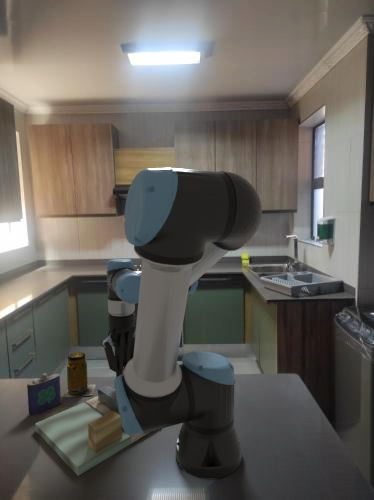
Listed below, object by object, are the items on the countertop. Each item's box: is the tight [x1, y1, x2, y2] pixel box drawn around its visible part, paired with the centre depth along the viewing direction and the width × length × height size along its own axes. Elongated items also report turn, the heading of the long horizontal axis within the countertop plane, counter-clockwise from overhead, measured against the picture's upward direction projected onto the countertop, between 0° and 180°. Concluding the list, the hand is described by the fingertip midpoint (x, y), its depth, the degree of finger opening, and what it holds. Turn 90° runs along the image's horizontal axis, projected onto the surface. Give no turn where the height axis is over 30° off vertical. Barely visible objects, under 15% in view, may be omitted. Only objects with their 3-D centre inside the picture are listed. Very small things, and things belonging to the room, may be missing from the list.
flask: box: [26, 372, 62, 418], centre depth 94 cm, size 9×3×11 cm, turn 138°
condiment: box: [63, 351, 97, 398], centre depth 104 cm, size 7×8×12 cm
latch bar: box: [97, 384, 120, 415], centre depth 90 cm, size 15×4×4 cm, turn 46°
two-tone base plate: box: [34, 388, 151, 477], centre depth 86 cm, size 22×24×8 cm
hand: (123, 390), depth 97 cm, fingers closed
